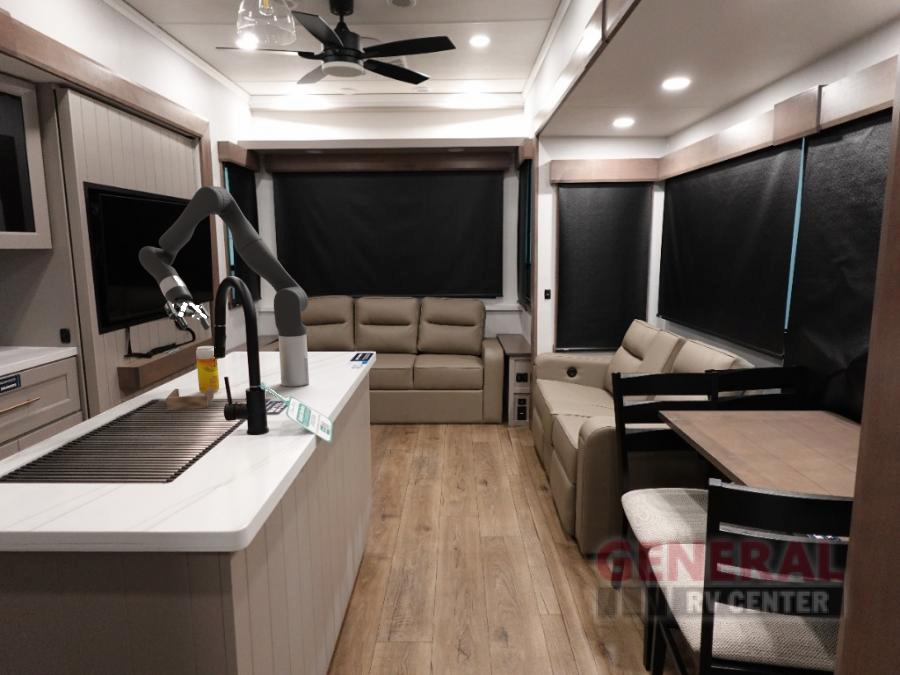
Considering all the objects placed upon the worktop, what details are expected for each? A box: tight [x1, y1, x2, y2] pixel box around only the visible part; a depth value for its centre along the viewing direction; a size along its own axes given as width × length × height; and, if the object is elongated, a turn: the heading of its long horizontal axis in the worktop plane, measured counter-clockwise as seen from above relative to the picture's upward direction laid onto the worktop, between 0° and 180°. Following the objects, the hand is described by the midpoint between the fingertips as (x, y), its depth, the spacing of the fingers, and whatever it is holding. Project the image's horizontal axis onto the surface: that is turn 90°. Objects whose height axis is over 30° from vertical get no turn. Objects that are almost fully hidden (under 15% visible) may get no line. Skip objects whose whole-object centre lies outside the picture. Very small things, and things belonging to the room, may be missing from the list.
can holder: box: [165, 387, 215, 411], centre depth 166 cm, size 11×11×4 cm
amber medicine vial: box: [195, 345, 220, 395], centre depth 178 cm, size 6×6×15 cm
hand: (197, 328), depth 183 cm, fingers open, 8 cm apart
